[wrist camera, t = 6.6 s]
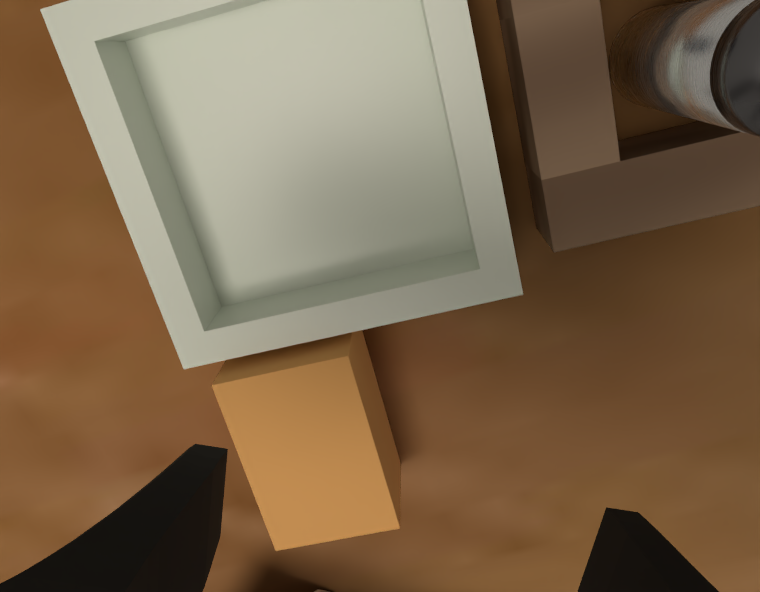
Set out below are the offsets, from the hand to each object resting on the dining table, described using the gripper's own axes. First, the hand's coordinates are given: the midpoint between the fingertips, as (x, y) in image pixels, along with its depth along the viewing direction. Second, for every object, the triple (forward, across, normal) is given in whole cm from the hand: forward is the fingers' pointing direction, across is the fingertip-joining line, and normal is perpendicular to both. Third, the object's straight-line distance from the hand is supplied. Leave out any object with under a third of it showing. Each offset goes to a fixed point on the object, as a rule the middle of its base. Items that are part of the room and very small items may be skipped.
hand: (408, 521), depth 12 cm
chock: (+10, +2, +3) cm, 11 cm away
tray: (+10, +4, -5) cm, 11 cm away
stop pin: (+10, -5, -9) cm, 14 cm away
